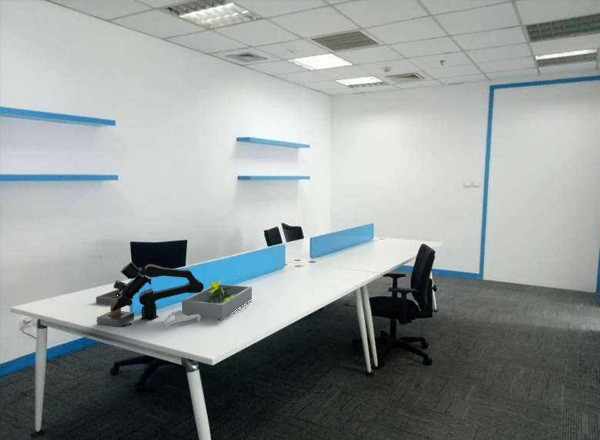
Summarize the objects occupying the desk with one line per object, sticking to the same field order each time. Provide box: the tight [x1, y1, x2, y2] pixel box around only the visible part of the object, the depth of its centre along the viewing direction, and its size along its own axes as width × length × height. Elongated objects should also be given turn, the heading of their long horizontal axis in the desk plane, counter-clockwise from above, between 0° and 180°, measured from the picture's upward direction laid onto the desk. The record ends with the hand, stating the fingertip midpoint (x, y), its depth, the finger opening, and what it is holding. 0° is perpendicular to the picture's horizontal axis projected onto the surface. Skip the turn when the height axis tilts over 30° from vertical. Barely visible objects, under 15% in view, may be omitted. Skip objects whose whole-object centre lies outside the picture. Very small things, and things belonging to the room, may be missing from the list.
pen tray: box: [95, 289, 121, 305], centre depth 248 cm, size 12×18×4 cm, turn 164°
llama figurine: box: [161, 309, 202, 329], centre depth 208 cm, size 2×11×18 cm
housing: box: [96, 310, 135, 328], centre depth 210 cm, size 12×12×4 cm
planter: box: [181, 283, 253, 321], centre depth 236 cm, size 23×39×8 cm, turn 164°
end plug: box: [109, 296, 122, 317], centre depth 210 cm, size 5×5×12 cm
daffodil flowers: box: [209, 276, 235, 304], centre depth 235 cm, size 17×15×35 cm
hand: (112, 309), depth 209 cm, fingers closed on end plug, 5 cm apart
